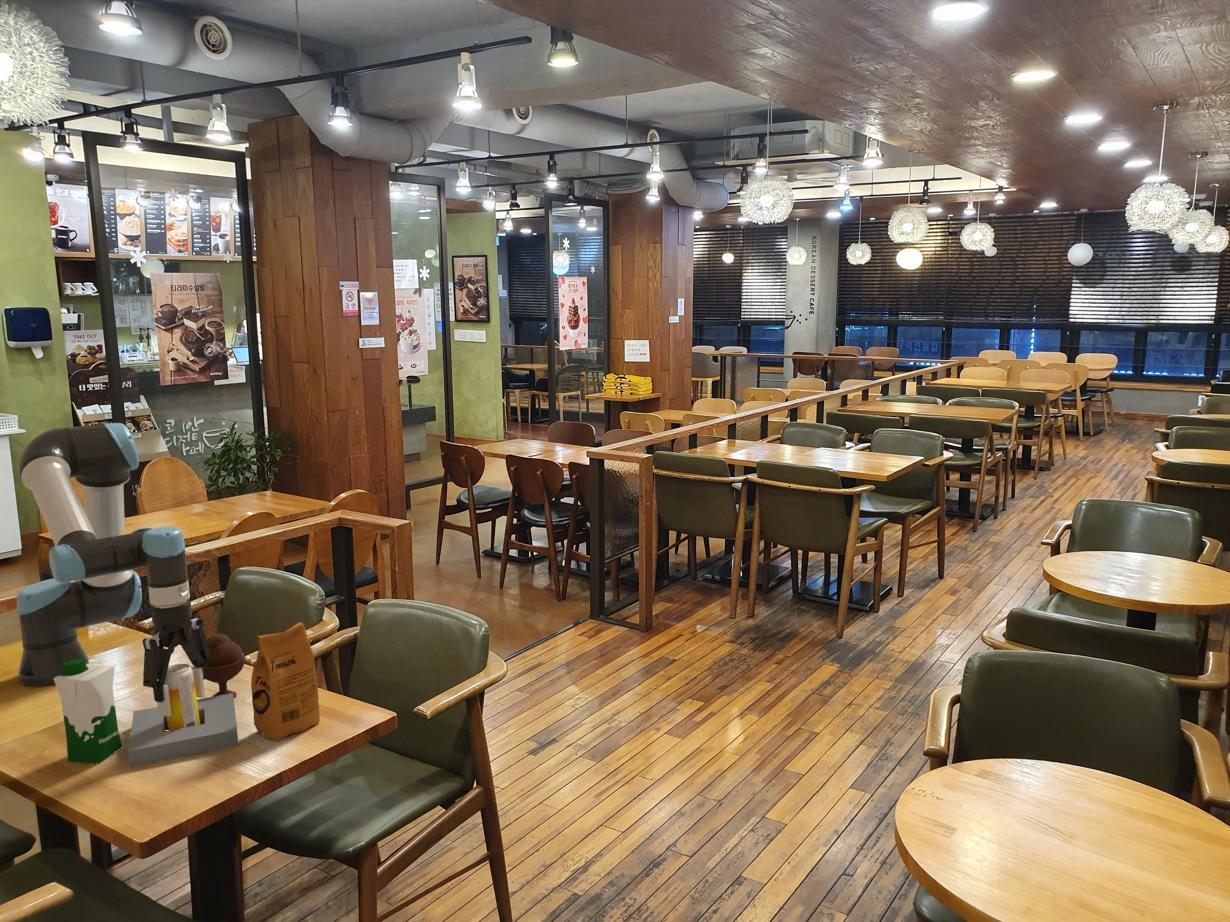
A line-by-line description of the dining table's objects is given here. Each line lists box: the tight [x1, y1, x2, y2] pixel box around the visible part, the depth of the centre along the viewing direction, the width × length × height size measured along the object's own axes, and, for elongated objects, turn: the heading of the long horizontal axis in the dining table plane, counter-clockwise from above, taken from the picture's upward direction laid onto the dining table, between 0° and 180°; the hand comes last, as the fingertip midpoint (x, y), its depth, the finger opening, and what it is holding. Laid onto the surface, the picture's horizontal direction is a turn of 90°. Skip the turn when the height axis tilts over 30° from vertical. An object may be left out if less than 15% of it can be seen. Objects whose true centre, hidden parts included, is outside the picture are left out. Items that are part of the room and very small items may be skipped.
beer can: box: [164, 663, 200, 731], centre depth 195 cm, size 6×6×15 cm
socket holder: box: [127, 693, 240, 768], centre depth 196 cm, size 20×20×4 cm
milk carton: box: [54, 658, 123, 765], centre depth 187 cm, size 9×9×20 cm
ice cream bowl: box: [204, 633, 246, 699], centre depth 213 cm, size 11×11×15 cm
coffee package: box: [250, 622, 321, 742], centre depth 197 cm, size 10×12×22 cm
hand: (182, 705), depth 195 cm, fingers open, 8 cm apart
